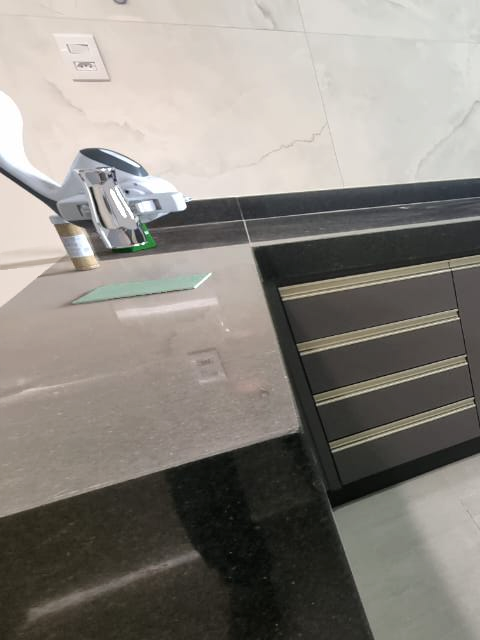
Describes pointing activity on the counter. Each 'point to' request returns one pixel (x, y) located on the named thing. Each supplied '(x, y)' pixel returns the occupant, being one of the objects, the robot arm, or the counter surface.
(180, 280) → the drying mat
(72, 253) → the sprinkles bottle
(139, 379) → the counter surface
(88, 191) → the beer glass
